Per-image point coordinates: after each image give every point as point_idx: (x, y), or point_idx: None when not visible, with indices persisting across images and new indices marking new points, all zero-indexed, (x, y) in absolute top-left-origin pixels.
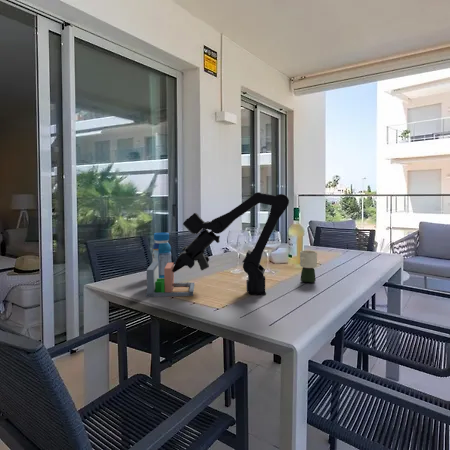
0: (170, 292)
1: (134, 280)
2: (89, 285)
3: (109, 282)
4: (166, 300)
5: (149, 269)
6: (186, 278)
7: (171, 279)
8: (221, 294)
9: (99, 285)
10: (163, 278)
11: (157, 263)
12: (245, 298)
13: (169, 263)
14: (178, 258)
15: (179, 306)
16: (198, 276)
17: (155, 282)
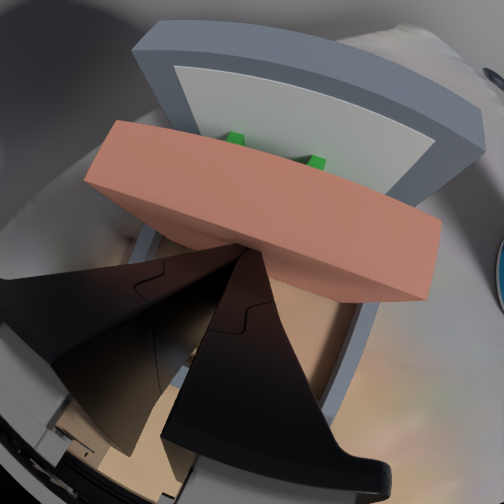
0: (153, 230)
1: (490, 147)
2: (423, 28)
3: (460, 72)
4: (103, 201)
5: (156, 31)
6: (471, 401)
7: (170, 230)
8: (102, 462)
9: (423, 41)
10: (497, 274)
11: (409, 107)
12: (51, 480)
13: (385, 227)
14: (59, 289)
15: (29, 237)
16: (468, 457)
17: (229, 134)
